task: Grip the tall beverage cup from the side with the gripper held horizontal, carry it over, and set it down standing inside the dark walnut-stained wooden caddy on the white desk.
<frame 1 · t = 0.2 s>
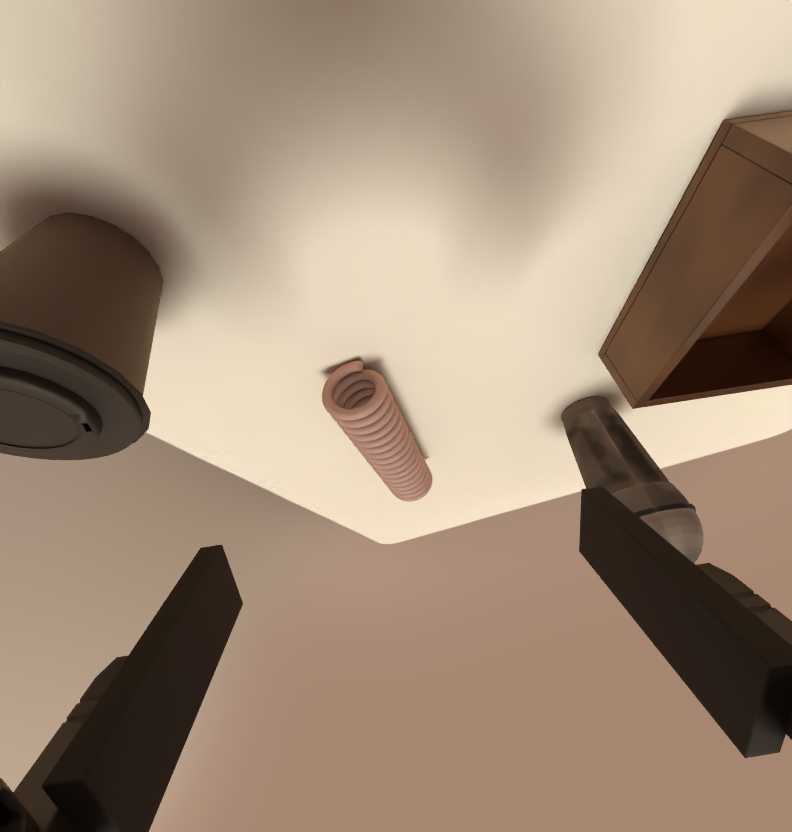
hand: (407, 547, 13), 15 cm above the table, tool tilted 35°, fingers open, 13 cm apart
coffee cup: (103, 264, 19), on the table
coil: (384, 421, 34), on the table
beverage cup: (583, 408, 37), on the table
caddy: (745, 254, 24), on the table
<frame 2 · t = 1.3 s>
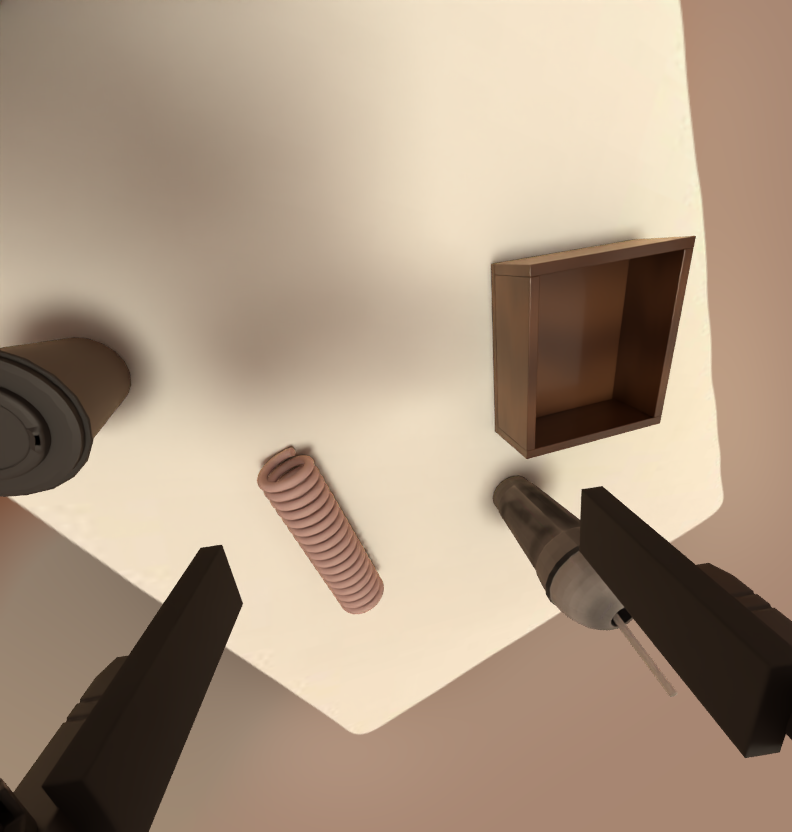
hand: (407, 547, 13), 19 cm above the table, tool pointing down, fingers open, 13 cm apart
coffee cup: (88, 374, 26), on the table
coil: (325, 520, 36), on the table
beverage cup: (510, 492, 40), on the table
caddy: (559, 341, 34), on the table
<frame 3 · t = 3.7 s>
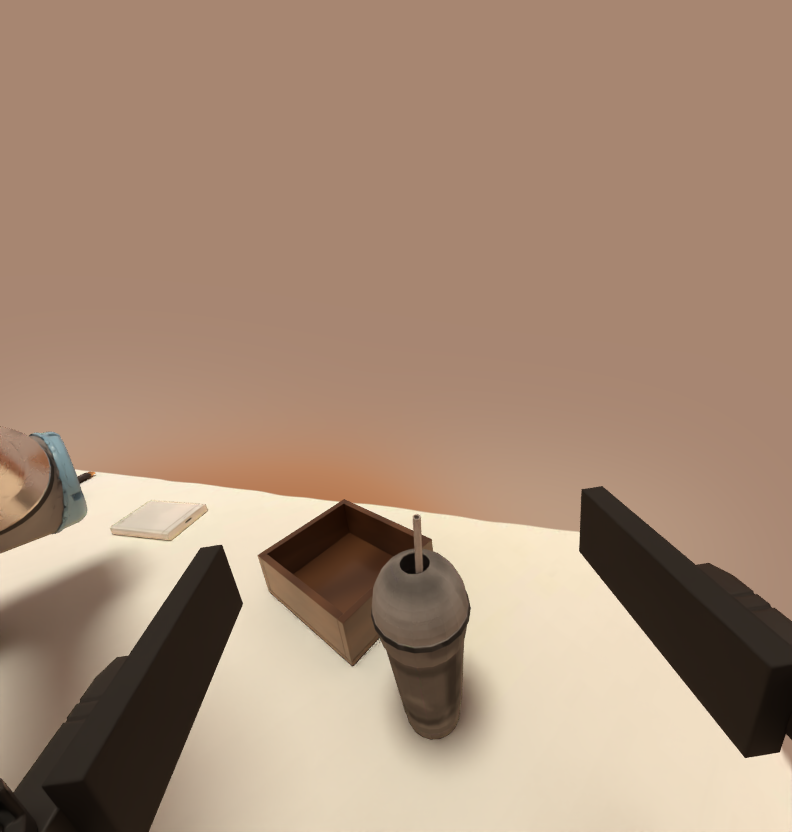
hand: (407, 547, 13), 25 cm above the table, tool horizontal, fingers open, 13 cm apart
beverage cup: (433, 709, 31), on the table
caddy: (351, 584, 44), on the table
hard drive: (162, 523, 63), on the table
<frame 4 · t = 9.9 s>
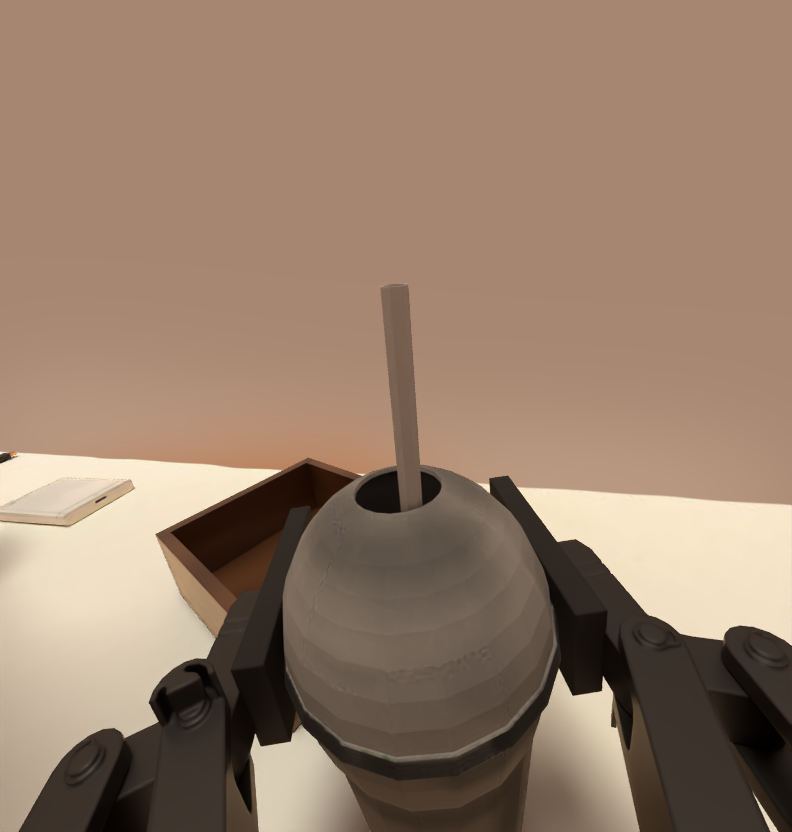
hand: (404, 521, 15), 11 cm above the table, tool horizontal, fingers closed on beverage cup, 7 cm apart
caddy: (310, 580, 28), on the table
hard drive: (69, 505, 46), on the table
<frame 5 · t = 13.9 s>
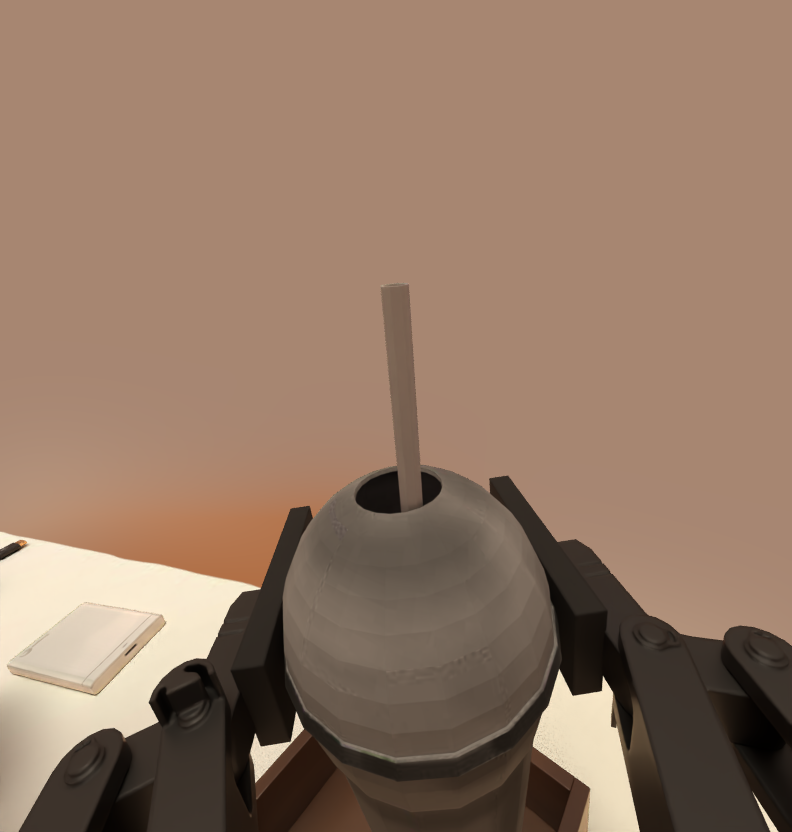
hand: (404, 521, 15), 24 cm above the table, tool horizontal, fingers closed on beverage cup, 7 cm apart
hard drive: (93, 648, 40), on the table
when the fingers open (12 cm above the table, at t = 18.3 s): beverage cup stays where it is, resting on caddy.
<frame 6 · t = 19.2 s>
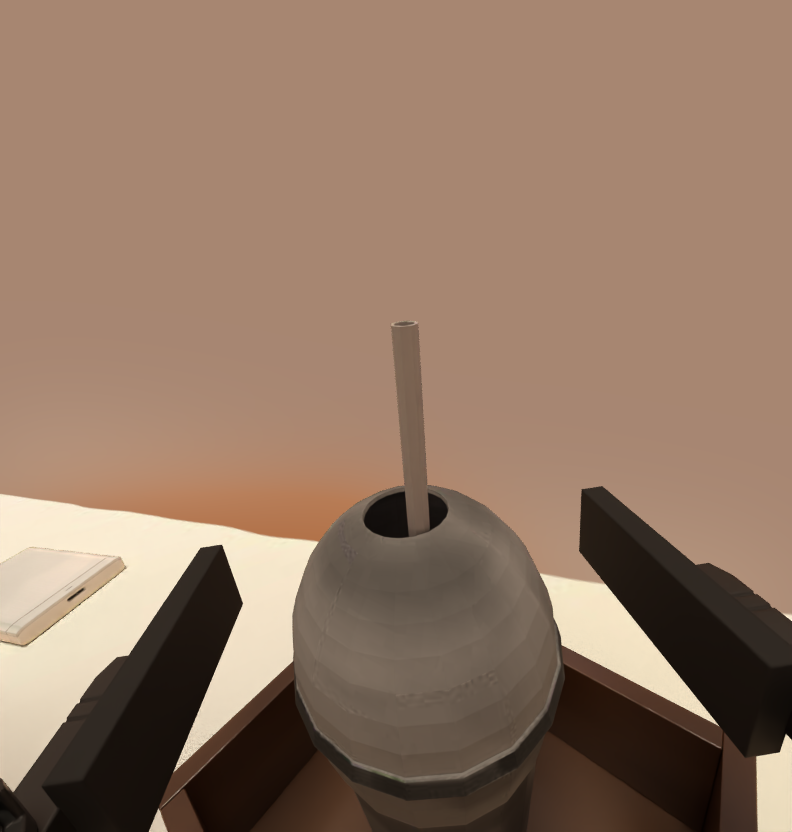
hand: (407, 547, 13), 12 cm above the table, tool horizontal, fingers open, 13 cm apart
hard drive: (33, 596, 33), on the table
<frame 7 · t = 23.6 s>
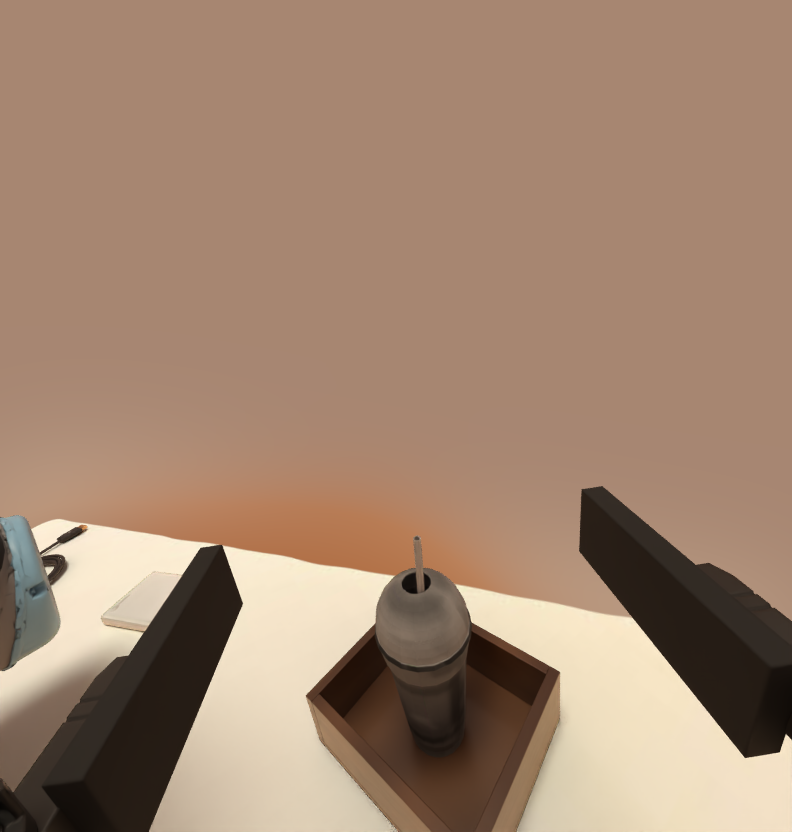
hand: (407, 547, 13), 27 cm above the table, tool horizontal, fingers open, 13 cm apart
beverage cup: (438, 726, 31), resting on caddy
caddy: (437, 729, 31), on the table
hard drive: (167, 606, 49), on the table
cable: (16, 588, 58), on the table
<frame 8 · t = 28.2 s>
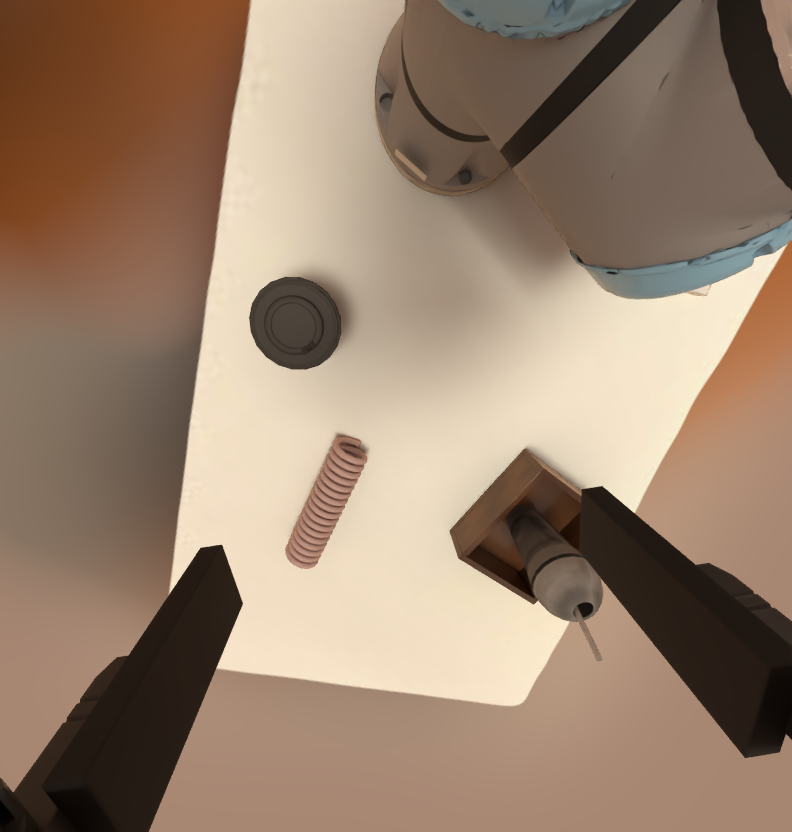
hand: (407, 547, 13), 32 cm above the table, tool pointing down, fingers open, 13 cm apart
coffee cup: (311, 318, 41), on the table
coil: (327, 494, 48), on the table
beverage cup: (522, 517, 51), resting on caddy
caddy: (521, 515, 51), on the table
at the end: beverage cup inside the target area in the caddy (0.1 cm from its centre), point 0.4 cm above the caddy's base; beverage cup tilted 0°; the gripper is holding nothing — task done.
